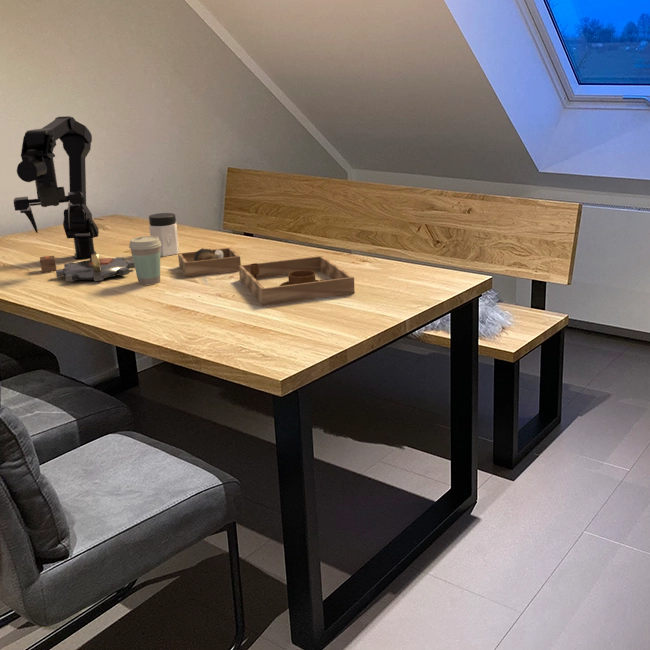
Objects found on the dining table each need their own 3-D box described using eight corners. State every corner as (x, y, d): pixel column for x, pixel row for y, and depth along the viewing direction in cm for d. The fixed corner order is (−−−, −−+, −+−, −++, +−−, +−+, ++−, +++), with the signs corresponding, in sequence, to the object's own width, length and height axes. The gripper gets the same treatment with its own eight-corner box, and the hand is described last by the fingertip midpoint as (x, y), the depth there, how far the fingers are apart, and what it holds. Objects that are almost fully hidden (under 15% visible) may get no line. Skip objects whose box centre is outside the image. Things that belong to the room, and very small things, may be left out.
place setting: (283, 303, 196) (281, 280, 194) (247, 286, 212) (245, 264, 210) (343, 290, 204) (342, 268, 202) (304, 275, 221) (303, 254, 219)
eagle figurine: (195, 262, 233) (187, 264, 224) (207, 241, 231) (200, 242, 223) (217, 276, 233) (210, 278, 224) (230, 255, 231) (223, 257, 223)
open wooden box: (179, 266, 233) (178, 253, 231) (231, 260, 237) (230, 247, 236) (186, 277, 221) (184, 263, 220) (241, 270, 226) (240, 256, 224)
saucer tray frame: (239, 279, 216) (238, 265, 215) (322, 269, 223) (321, 255, 222) (263, 305, 193) (262, 289, 192) (354, 293, 200) (354, 277, 198)
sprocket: (56, 267, 235) (53, 245, 233) (131, 258, 241) (129, 237, 239) (57, 285, 215) (53, 262, 213) (139, 275, 221) (136, 252, 219)
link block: (42, 270, 236) (40, 256, 234) (56, 268, 237) (54, 255, 236) (42, 273, 232) (39, 259, 231) (56, 271, 233) (54, 258, 232)
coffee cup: (154, 276, 223) (149, 234, 220) (171, 281, 217) (166, 238, 214) (127, 282, 218) (122, 239, 214) (144, 288, 212) (139, 244, 208)
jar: (157, 257, 244) (153, 219, 241) (147, 253, 251) (143, 215, 247) (184, 253, 249) (180, 215, 245) (174, 248, 256) (170, 211, 252)
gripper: (9, 183, 213) (19, 240, 218) (81, 176, 219) (89, 232, 224) (9, 177, 223) (19, 232, 228) (78, 171, 229) (86, 224, 234)
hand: (53, 230), depth 228 cm, fingers open, 9 cm apart
